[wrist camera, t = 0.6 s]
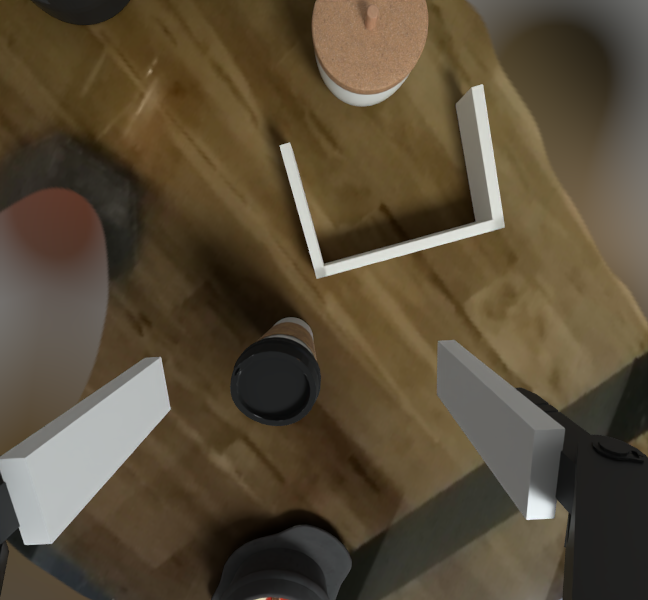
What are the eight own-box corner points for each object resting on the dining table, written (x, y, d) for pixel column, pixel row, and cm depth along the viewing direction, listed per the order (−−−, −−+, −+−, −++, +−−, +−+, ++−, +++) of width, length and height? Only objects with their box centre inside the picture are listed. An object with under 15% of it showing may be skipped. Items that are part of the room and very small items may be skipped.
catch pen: (284, 155, 37) (279, 145, 33) (465, 101, 36) (482, 84, 32) (317, 274, 40) (316, 278, 36) (486, 228, 38) (504, 227, 35)
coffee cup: (280, 296, 40) (254, 328, 26) (333, 328, 41) (338, 377, 26) (249, 347, 42) (208, 405, 27) (302, 376, 43) (290, 449, 28)
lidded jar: (370, -6, 34) (387, -98, 24) (424, 80, 35) (459, 23, 26) (295, 62, 35) (285, -2, 26) (351, 141, 37) (360, 108, 27)
